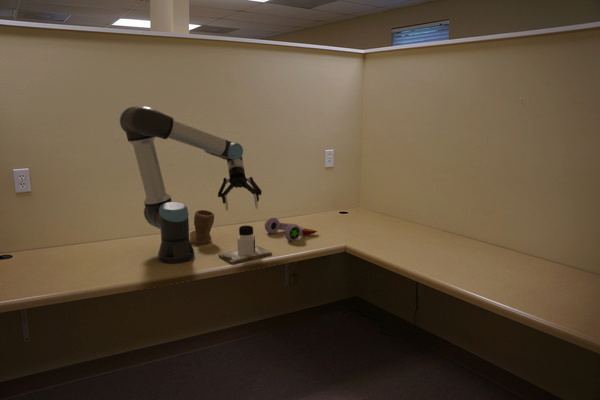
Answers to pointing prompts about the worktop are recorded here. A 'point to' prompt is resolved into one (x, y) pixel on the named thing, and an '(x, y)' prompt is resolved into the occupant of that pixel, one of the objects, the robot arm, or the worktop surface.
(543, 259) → the worktop surface
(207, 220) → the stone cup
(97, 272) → the worktop surface
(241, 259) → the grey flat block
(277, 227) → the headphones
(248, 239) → the medicine bottle
